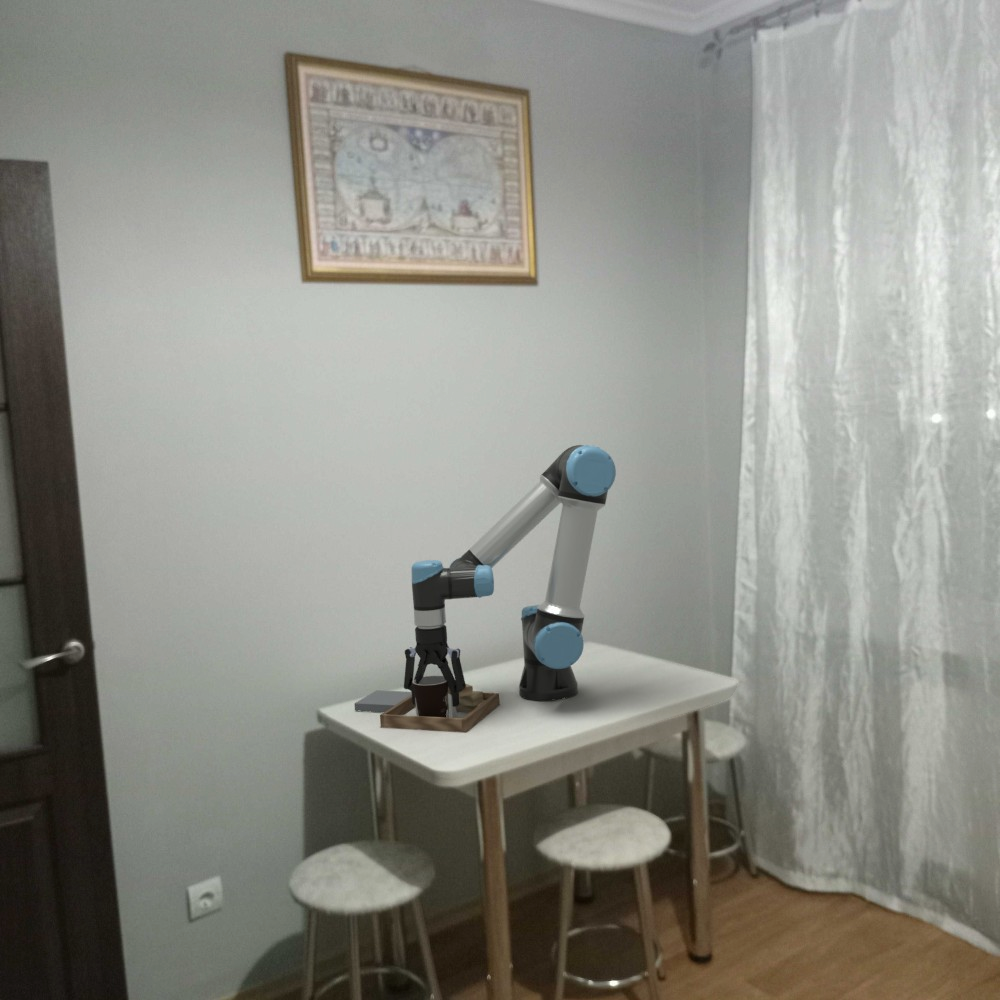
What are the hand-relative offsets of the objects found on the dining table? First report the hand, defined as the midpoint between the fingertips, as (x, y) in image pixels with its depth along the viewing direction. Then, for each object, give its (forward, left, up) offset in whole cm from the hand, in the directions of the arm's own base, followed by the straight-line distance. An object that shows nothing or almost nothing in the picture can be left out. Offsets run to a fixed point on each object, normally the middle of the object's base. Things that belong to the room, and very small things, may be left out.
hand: (436, 718), depth 237 cm
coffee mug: (0, 0, 0) cm, 0 cm away
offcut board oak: (-1, -10, -1) cm, 10 cm away
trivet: (+18, -9, 0) cm, 20 cm away
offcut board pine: (-1, -10, +1) cm, 10 cm away
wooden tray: (0, -3, 0) cm, 3 cm away
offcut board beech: (-1, -10, +4) cm, 10 cm away
